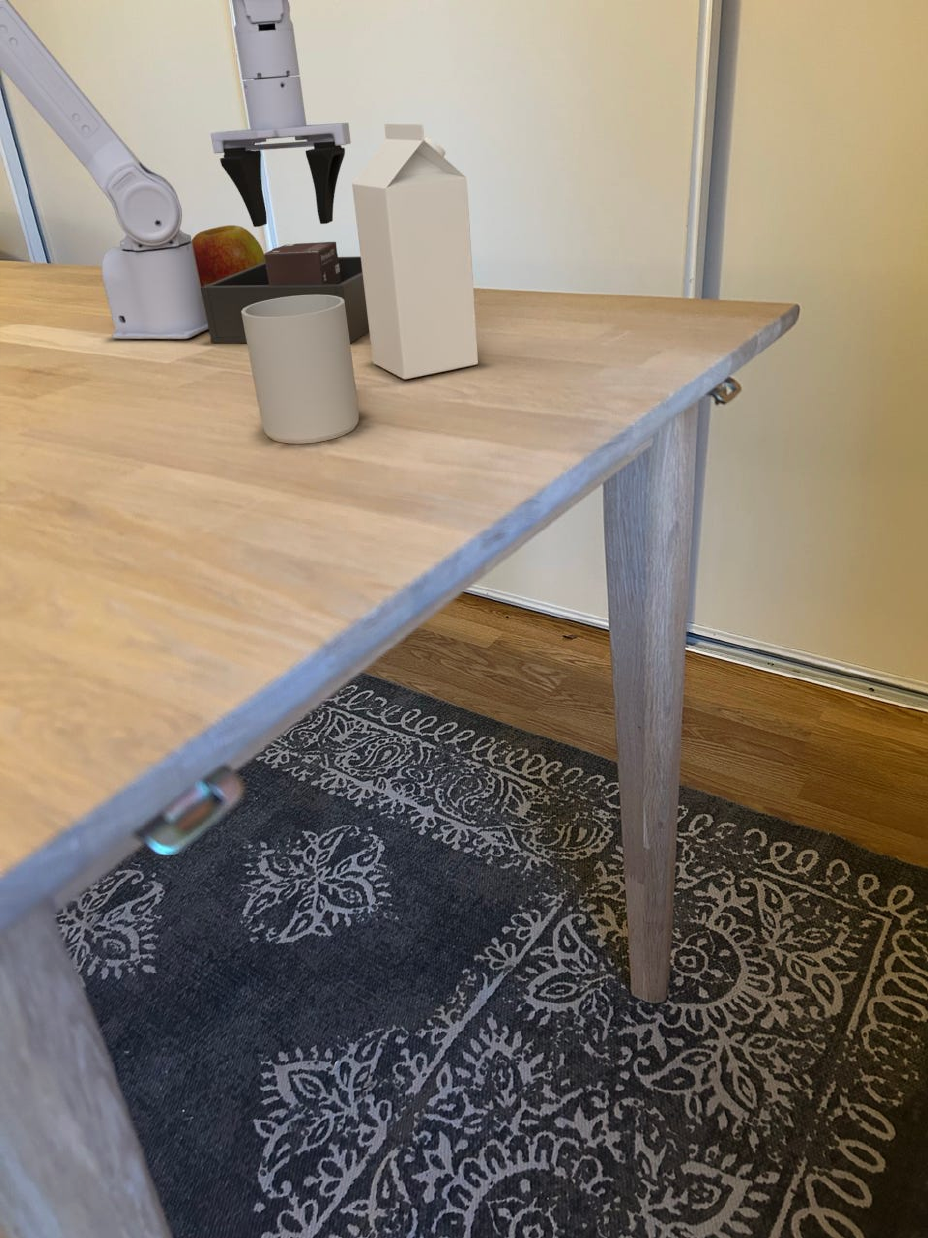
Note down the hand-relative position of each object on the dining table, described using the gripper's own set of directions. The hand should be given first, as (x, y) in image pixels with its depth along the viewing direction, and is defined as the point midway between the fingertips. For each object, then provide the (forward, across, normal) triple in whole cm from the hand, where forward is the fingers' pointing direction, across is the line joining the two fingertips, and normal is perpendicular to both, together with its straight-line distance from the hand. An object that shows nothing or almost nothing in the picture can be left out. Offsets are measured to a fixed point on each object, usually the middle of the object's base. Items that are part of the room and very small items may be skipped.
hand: (293, 223), depth 101 cm
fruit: (+10, -14, +11) cm, 20 cm away
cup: (+10, +15, -37) cm, 41 cm away
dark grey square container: (+9, +3, -5) cm, 11 cm away
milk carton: (+10, +20, -21) cm, 31 cm away
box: (+9, +3, -5) cm, 11 cm away
